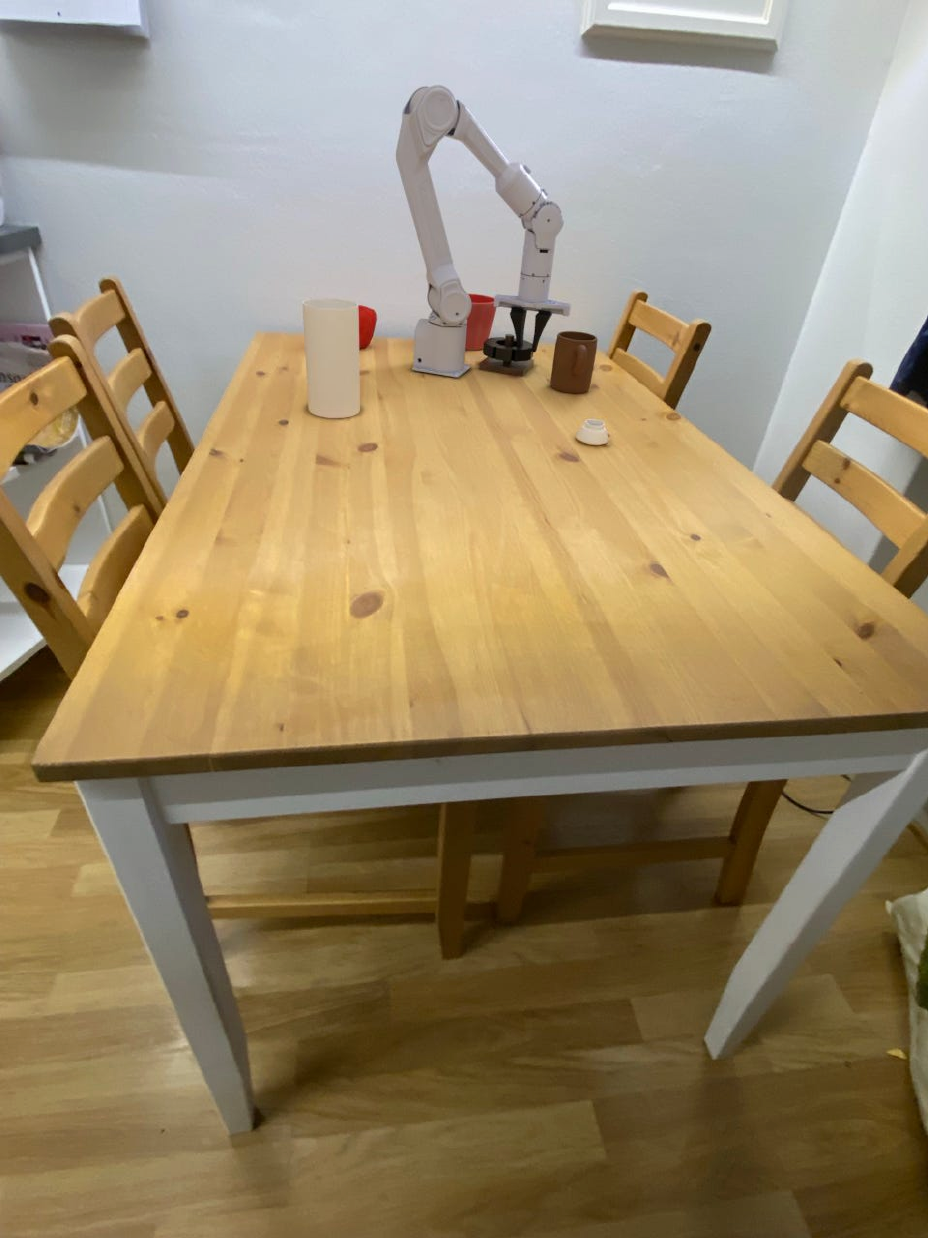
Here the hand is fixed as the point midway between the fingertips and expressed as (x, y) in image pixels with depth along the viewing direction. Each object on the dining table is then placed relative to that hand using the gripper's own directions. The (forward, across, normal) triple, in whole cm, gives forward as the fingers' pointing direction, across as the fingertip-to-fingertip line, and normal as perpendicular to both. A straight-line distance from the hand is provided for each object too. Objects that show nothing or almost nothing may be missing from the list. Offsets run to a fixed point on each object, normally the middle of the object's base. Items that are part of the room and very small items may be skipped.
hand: (526, 350), depth 137 cm
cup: (+4, -24, -39) cm, 46 cm away
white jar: (+4, +17, -34) cm, 38 cm away
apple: (+4, -36, -1) cm, 36 cm away
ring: (+1, -4, 0) cm, 4 cm away
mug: (+4, +11, -10) cm, 15 cm away
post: (+4, -4, 0) cm, 5 cm away
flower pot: (+4, -15, +13) cm, 20 cm away
